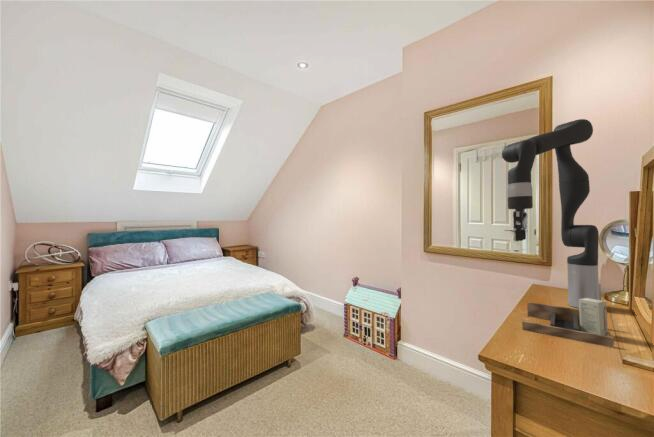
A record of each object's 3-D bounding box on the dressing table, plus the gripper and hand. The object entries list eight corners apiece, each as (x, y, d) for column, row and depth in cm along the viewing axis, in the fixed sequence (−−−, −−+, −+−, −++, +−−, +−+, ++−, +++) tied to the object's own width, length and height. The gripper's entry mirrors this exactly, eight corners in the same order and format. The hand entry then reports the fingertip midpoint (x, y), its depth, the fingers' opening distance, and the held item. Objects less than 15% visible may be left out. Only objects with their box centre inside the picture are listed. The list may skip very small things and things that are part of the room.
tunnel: (522, 329, 89) (522, 313, 89) (527, 315, 102) (527, 301, 102) (613, 347, 75) (613, 329, 75) (606, 328, 88) (605, 313, 89)
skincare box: (608, 334, 83) (607, 301, 83) (600, 337, 81) (599, 303, 81) (587, 328, 88) (586, 297, 88) (579, 330, 86) (578, 298, 86)
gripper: (530, 193, 93) (531, 241, 93) (534, 196, 104) (535, 239, 104) (504, 195, 98) (505, 240, 98) (510, 198, 109) (511, 238, 109)
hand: (520, 240), depth 101 cm, fingers open, 8 cm apart
